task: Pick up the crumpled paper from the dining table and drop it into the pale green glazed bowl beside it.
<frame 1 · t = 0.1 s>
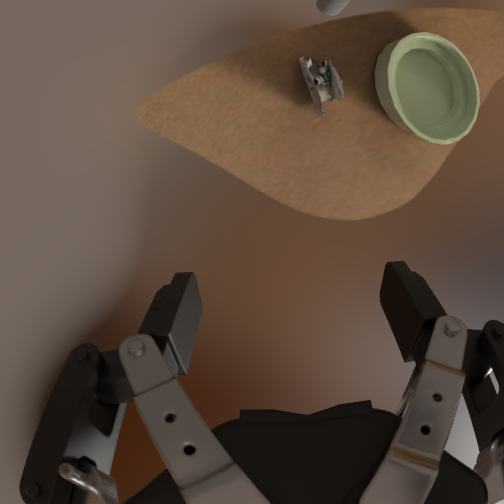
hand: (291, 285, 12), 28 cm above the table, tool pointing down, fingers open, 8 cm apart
crumpled paper: (319, 84, 31), on the table
bowl: (420, 86, 29), on the table
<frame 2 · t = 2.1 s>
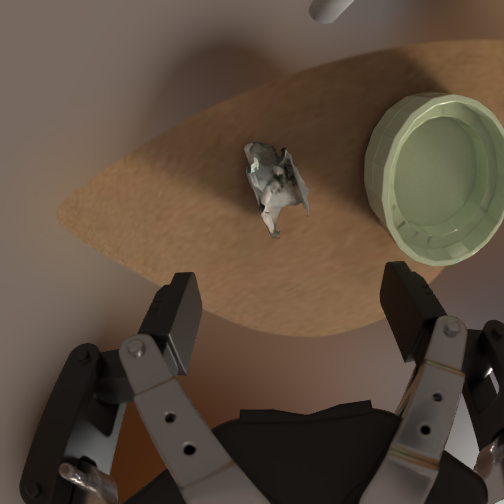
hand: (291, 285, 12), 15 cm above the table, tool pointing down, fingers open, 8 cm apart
crumpled paper: (279, 179, 24), on the table
bowl: (432, 170, 22), on the table
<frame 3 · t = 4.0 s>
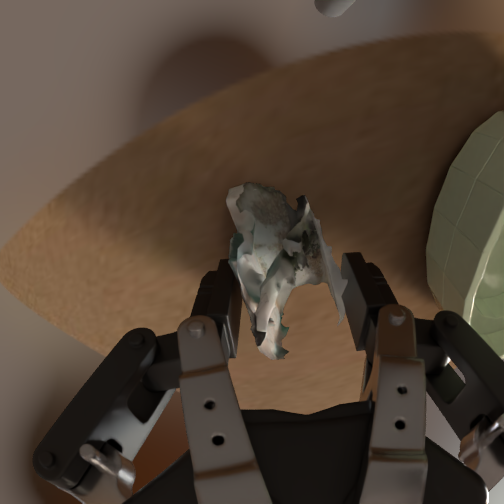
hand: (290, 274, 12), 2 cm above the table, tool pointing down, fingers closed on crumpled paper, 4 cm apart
crumpled paper: (290, 245, 14), on the table, touching gripper
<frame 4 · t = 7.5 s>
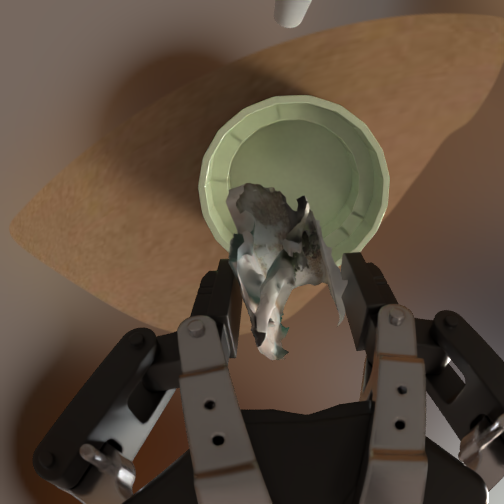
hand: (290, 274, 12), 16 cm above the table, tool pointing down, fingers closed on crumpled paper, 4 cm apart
crumpled paper: (290, 245, 14), point 13 cm above the table, touching gripper
bowl: (291, 177, 26), on the table
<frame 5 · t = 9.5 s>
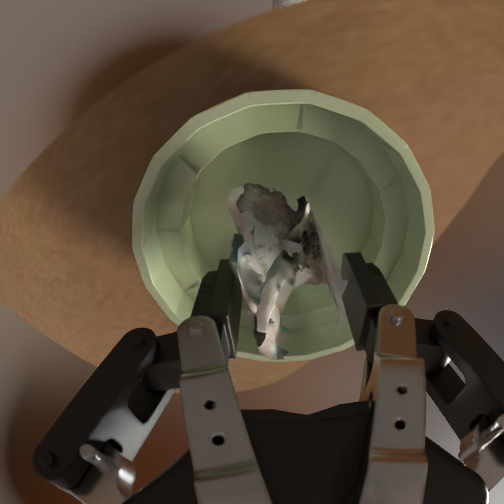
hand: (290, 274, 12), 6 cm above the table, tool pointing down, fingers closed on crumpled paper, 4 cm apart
crumpled paper: (290, 245, 14), point 4 cm above the table, touching gripper
bowl: (282, 217, 18), on the table
when the fingers open (3 cm above the table, at t = 10.9 s): crumpled paper stays where it is, resting on bowl.
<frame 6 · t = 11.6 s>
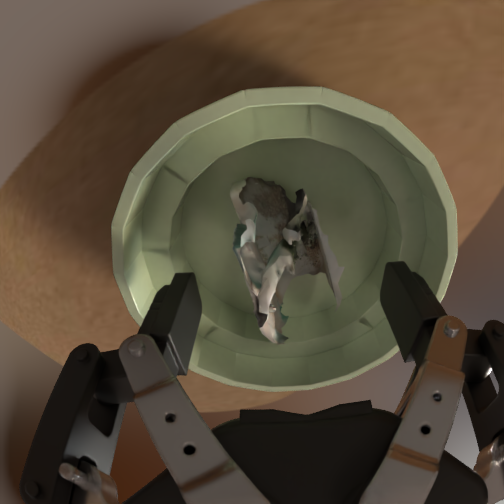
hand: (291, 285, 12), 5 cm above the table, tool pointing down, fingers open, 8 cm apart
crumpled paper: (289, 236, 15), resting on bowl
bowl: (285, 234, 16), on the table
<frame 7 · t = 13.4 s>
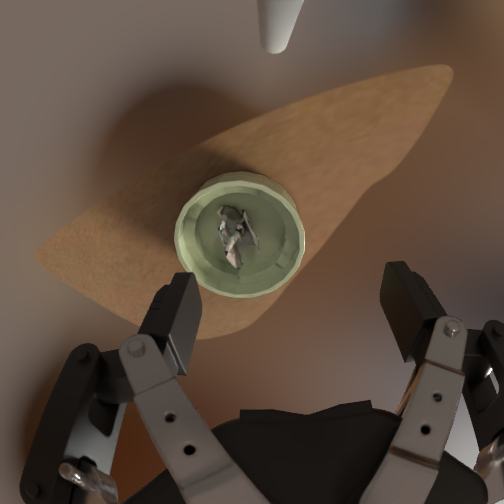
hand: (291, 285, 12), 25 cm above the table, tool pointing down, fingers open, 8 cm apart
crumpled paper: (242, 228, 37), resting on bowl
bowl: (241, 227, 37), on the table
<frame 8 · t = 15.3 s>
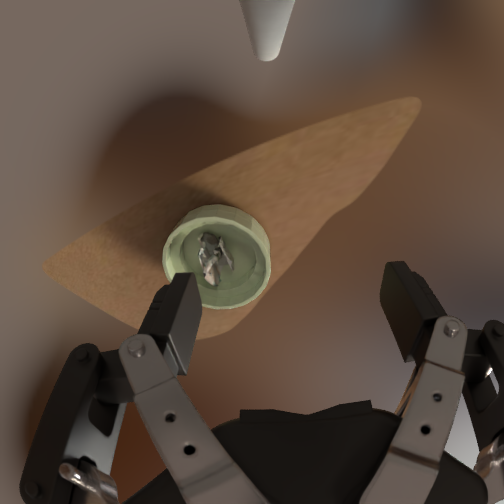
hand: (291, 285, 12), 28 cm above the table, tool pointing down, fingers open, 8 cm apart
crumpled paper: (220, 250, 43), resting on bowl
bowl: (219, 249, 44), on the table
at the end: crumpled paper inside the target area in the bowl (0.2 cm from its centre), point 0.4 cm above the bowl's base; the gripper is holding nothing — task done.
